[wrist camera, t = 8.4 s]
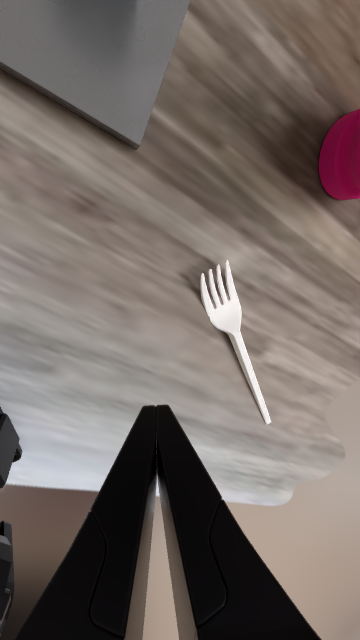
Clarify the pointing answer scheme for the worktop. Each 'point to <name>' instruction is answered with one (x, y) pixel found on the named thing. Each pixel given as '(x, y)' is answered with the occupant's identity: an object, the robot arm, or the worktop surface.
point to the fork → (231, 325)
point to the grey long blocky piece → (93, 55)
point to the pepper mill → (342, 158)
